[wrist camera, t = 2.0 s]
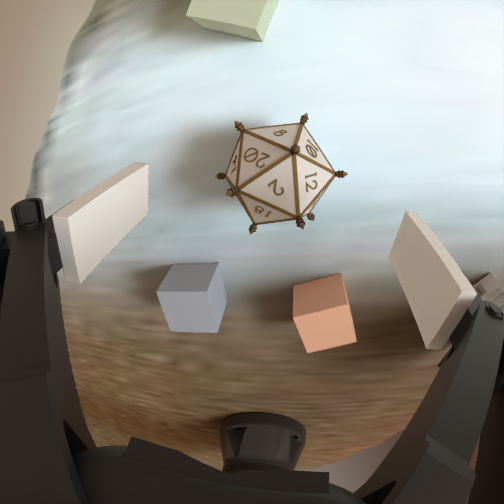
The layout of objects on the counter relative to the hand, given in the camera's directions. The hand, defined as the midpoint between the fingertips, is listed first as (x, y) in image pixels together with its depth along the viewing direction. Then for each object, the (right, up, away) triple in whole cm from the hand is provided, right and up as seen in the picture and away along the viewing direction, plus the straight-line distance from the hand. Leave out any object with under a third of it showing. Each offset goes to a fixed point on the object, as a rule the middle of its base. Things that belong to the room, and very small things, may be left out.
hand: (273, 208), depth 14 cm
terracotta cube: (+6, -7, +17) cm, 19 cm away
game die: (+1, +6, +10) cm, 12 cm away
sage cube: (-2, +18, +4) cm, 18 cm away
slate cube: (-7, -5, +18) cm, 20 cm away
